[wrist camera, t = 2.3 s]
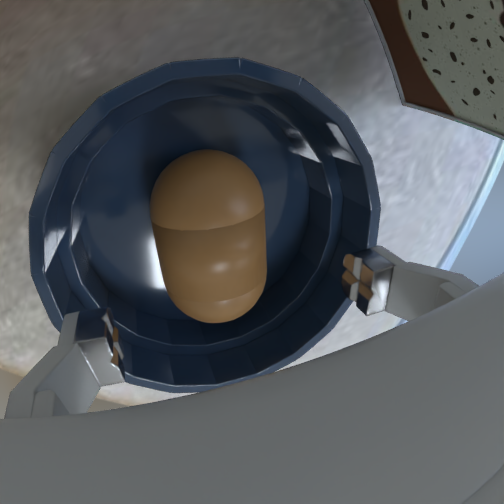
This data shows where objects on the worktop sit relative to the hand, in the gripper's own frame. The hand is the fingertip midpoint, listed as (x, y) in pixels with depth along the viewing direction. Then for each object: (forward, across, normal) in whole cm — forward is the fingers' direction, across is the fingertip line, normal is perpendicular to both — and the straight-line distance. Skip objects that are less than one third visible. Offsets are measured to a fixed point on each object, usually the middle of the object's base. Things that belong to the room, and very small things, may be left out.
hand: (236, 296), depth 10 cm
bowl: (+7, 0, 0) cm, 7 cm away
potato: (+6, 0, 0) cm, 6 cm away
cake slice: (+7, -14, -11) cm, 19 cm away
